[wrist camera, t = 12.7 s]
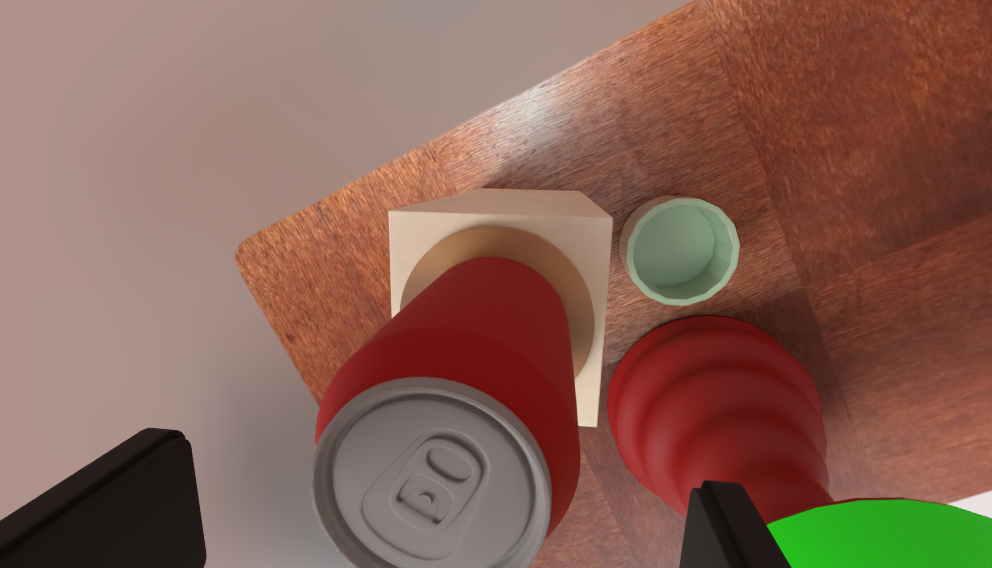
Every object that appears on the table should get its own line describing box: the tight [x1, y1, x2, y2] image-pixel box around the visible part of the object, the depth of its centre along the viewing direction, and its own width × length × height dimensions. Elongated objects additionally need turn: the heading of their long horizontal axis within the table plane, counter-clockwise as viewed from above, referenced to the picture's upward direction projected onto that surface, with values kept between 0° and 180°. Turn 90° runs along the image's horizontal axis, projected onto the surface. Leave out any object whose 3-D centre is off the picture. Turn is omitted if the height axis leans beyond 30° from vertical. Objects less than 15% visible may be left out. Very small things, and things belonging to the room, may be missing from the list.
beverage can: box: [310, 257, 580, 568], centre depth 16 cm, size 7×7×12 cm
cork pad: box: [400, 225, 594, 379], centre depth 22 cm, size 9×9×1 cm
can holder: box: [619, 195, 740, 306], centre depth 45 cm, size 10×10×6 cm
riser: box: [389, 188, 613, 427], centre depth 36 cm, size 10×10×28 cm
